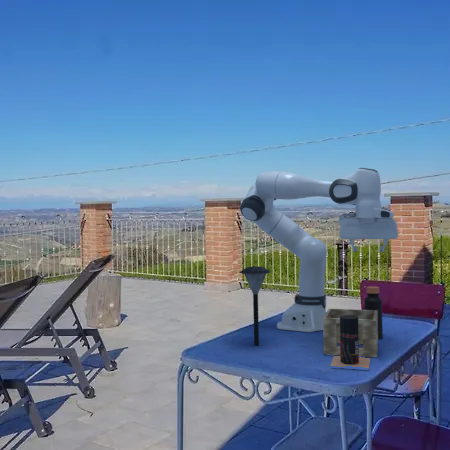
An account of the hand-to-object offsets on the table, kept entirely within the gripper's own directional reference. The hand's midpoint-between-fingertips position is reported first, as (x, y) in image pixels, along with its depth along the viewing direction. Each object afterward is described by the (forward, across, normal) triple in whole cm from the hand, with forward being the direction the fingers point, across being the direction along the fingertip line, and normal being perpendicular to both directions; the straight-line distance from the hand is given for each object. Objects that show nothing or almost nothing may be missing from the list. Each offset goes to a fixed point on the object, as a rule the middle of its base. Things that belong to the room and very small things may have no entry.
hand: (368, 251), depth 186 cm
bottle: (+36, +1, +20) cm, 41 cm away
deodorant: (+35, -6, -18) cm, 40 cm away
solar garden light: (+36, -41, -3) cm, 55 cm away
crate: (+36, -6, 0) cm, 36 cm away
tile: (+36, -5, -18) cm, 40 cm away
